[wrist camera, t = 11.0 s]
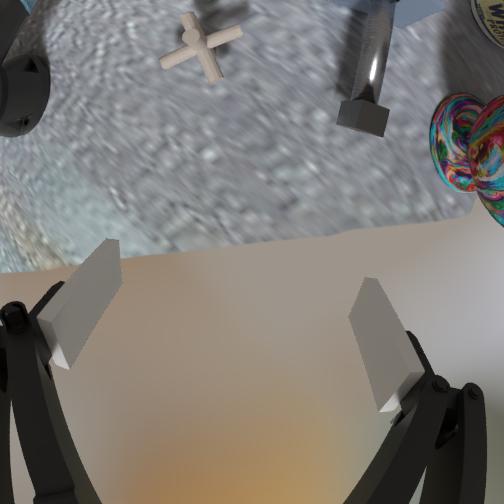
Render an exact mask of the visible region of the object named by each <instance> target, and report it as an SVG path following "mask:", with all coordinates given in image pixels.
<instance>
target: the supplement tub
mask: <svg viewBox="0 0 504 504" xmlns="http://www.w3.org/2000/svg"><path fill="white" fill-rule="evenodd" d="M471 8H472V12H473V15H474V17H475V19H476V21H477V23H478V25H479V26H480V28H481V29H482V31H483V32H484V33H485V34H486V36H487V37H488V38H489V39H490V40H491V41H492V42H494V43H495V44H496V45H498V46H500V47H502V48H504V0H471Z"/></svg>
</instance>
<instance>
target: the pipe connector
mask: <svg viewBox="0 0 504 504" xmlns="http://www.w3.org/2000/svg"><path fill="white" fill-rule="evenodd" d="M180 20H181V22H182V24H183V27H184V29H185V32H184V33H183V36H182V39H183V41H184V42H185V43H186V44H187V45H185V46H183V47H181V48H178V49H176V50H174V51H172V52H170V53H168V54H167V55H165V56H163V57H161V58H159V61H160V63H161V65H162V67H163V68H164V69H165V70H166V69H168V68H170V67H172V66H174V65H176V64H178V63H180V62H182V61H184V60H186V59H189V58H191V57H193V56H195V55H197V57H198V59H199V61H200V64H201V66H202V68H203V70H204V72H205V75H206V77H207V79H208V81H209V84H212V83H215V82H218V81H220V80H222V79H224V76H223V74H222V72H221V70H220V67H219V65H218V63H217V61H216V59H215V55H216V52H215V50H214V49H213V47H216V46H218V45H221V44H223V43H226V42H228V41H231V40H234V39H236V38H239V37H242V36H244V35H243V32H242V30H241V28H240V26H239V24H235V25H232V26H230V27H227V28H224V29H222V30H219V31H217V32H214V33H212V34H209V35H207V36H205V35H204V33H203V31H202V29H201V26H200V24H199V22H198V20H197V18H196V16H195V14H194V12H187V13H184V14H182V15H181V16H180Z"/></svg>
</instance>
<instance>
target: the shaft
mask: <svg viewBox="0 0 504 504" xmlns="http://www.w3.org/2000/svg"><path fill="white" fill-rule="evenodd" d="M396 1H397V0H370V5H369V11H368V17H367V23H366V28H365V33H364V39H363V44H362V49H361V54H360V59H359V64H358V68H357V73H356V78H355V82H354V87H353V91H352V95H351V100H350V101H342V102H341V106H340V110H339V115H338V119H337V123H336V124H337V125H340V126H344V127H347V128H350V129H353V130H356V131H359V132H364V133H368V134H371V135H375V136H379V137H383V135H384V132H385V128H386V124H387V120H388V116H389V111H390V110H389V109H387V108H384V107H382V106H379V105H378V101H379V96H380V92H381V87H382V83H383V78H384V73H385V68H386V63H387V58H388V53H389V47H390V41H391V35H392V29H393V23H394V16H395V9H396Z"/></svg>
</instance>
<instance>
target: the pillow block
mask: <svg viewBox="0 0 504 504" xmlns="http://www.w3.org/2000/svg"><path fill="white" fill-rule="evenodd" d="M326 1H330V2H333V3H337V4H340V5H343V6H346V7H349V8H352V9H355V10H358V11H360V12H363V13H366V14H368V11H369V5H370V0H326ZM443 9H445V0H397V1H396V9H395V16H394V23H393V25H395V26H397V27H399V28H404V27H406V26H408V25H410V24H412V23H414V22H417V21H419V20H421V19H423V18H425V17H427V16H429V15H432V14H434V13H436V12H439V11H441V10H443Z"/></svg>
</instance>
